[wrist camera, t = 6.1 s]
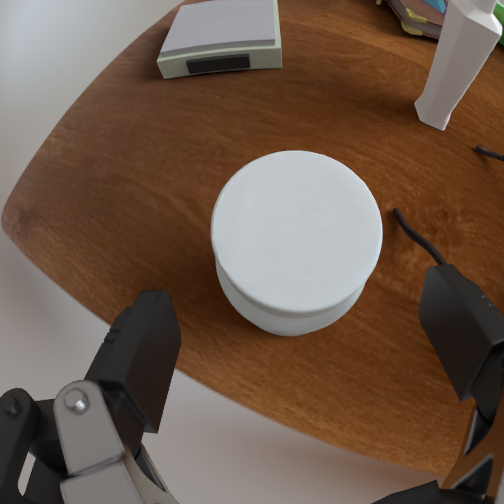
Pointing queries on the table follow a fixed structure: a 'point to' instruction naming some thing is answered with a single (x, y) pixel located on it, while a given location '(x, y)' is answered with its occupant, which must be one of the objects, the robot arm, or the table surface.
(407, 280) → the table surface
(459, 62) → the perfume bottle
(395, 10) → the book
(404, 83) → the table surface
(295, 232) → the pill bottle
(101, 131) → the table surface
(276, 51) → the scale
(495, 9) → the speaker
